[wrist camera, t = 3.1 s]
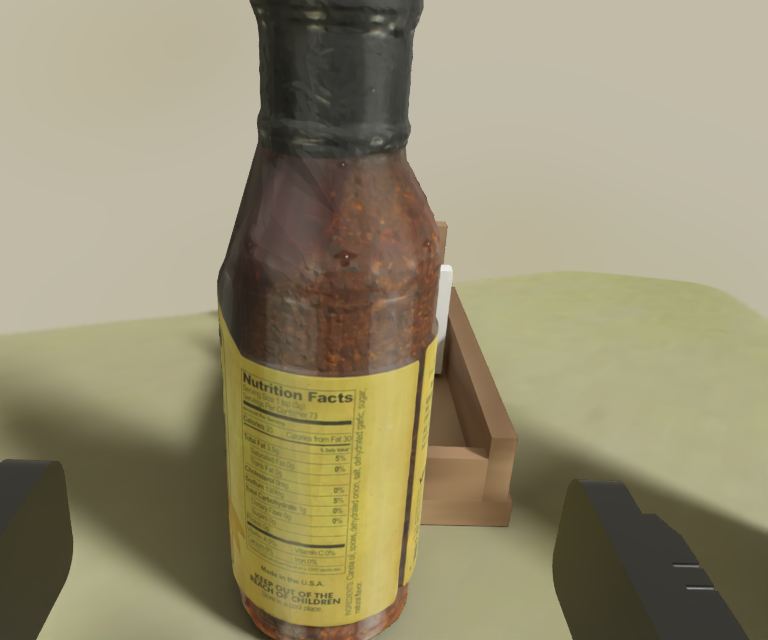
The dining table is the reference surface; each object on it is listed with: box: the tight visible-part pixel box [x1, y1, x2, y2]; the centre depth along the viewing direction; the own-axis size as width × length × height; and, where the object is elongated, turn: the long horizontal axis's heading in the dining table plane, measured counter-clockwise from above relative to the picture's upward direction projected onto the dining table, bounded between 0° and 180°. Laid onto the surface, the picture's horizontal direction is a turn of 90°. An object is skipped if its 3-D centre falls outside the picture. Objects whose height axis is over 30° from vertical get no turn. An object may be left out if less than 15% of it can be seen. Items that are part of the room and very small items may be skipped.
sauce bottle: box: [217, 0, 442, 640], centre depth 20 cm, size 6×6×20 cm
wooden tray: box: [420, 221, 518, 526], centre depth 33 cm, size 11×17×8 cm, turn 3°
